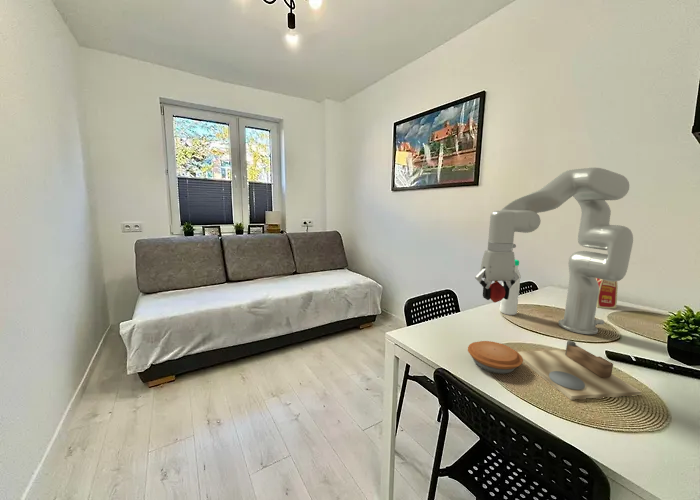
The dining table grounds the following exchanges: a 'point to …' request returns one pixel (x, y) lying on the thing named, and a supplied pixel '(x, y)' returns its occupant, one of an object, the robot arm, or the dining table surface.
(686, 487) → the dining table surface
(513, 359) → the pie
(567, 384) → the felt pad
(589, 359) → the leg
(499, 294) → the onion
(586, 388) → the board
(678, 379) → the dining table surface
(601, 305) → the milk carton
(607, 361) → the block
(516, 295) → the white milk bottle
